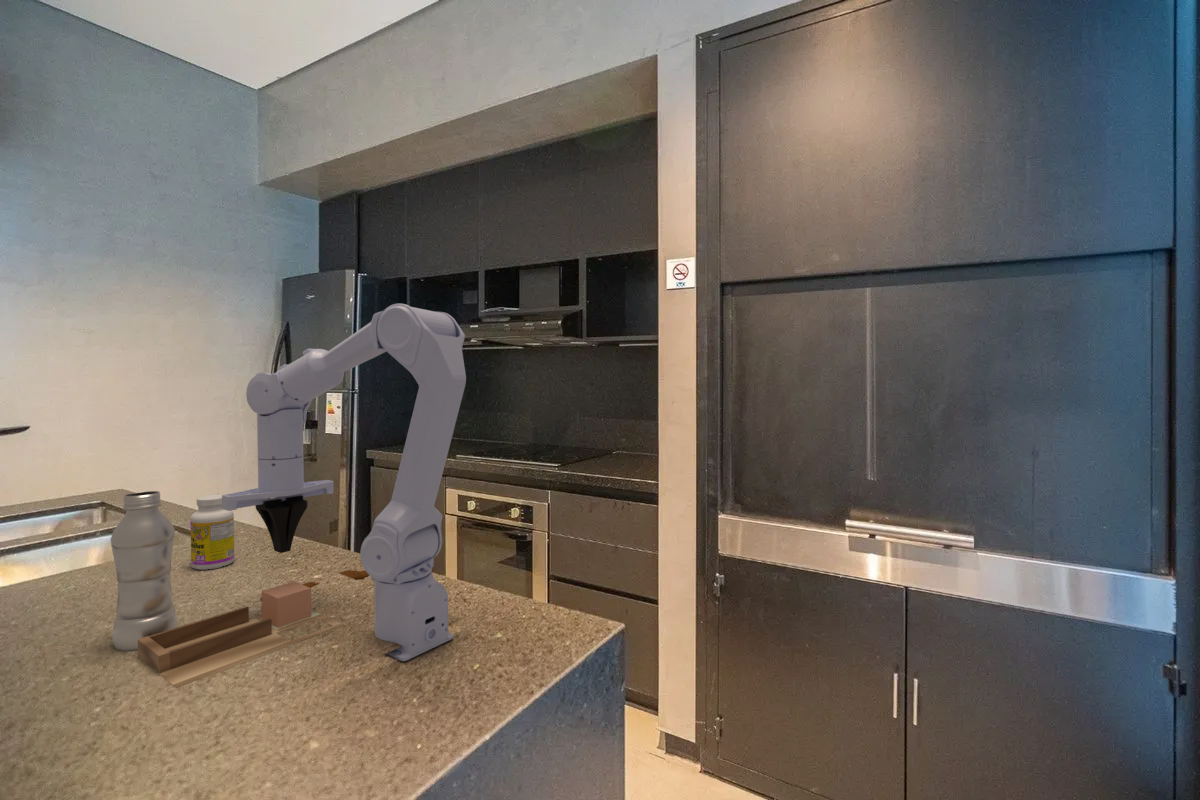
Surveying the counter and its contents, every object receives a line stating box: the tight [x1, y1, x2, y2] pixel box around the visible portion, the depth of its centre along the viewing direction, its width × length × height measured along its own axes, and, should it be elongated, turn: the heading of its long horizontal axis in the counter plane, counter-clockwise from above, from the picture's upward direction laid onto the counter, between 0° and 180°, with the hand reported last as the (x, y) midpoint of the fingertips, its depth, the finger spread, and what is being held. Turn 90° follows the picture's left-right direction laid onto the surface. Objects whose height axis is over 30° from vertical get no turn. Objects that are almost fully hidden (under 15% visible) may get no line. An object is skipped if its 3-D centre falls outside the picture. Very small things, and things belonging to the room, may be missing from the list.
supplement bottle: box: [190, 494, 235, 571], centre depth 104 cm, size 7×7×13 cm
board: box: [137, 606, 344, 689], centre depth 71 cm, size 12×19×4 cm, turn 145°
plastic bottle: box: [110, 490, 179, 652], centre depth 71 cm, size 6×7×20 cm
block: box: [260, 581, 312, 628], centre depth 78 cm, size 4×4×4 cm
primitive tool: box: [260, 569, 370, 603], centre depth 92 cm, size 19×6×4 cm, turn 162°
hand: (282, 550), depth 81 cm, fingers closed
